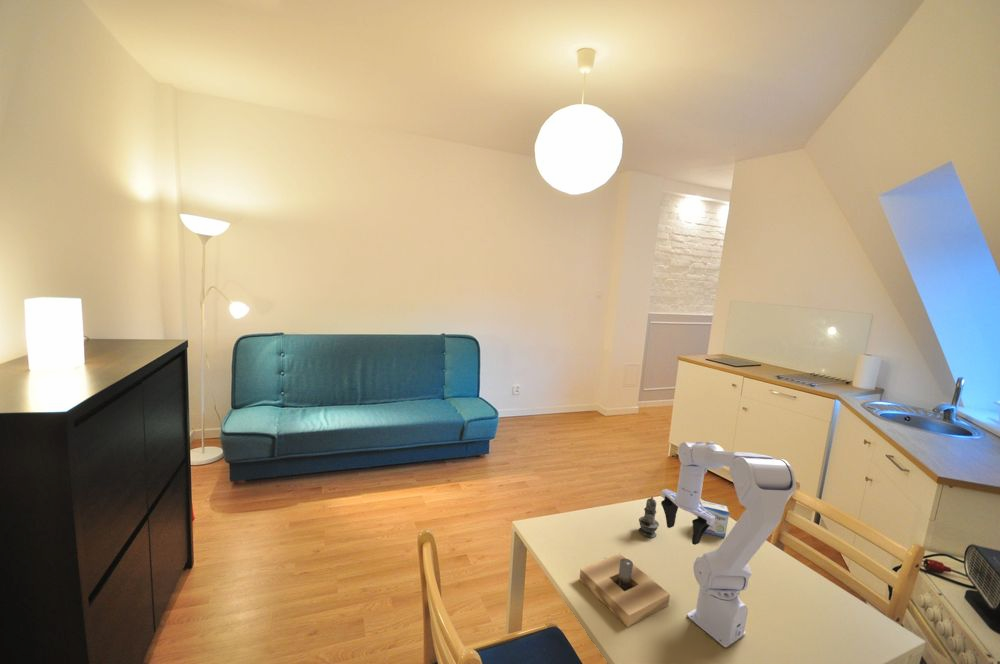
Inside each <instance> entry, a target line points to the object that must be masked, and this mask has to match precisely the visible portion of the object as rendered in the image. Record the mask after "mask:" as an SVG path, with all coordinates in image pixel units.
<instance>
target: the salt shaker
mask: <svg viewBox="0 0 1000 664" xmlns="http://www.w3.org/2000/svg"><path fill="white" fill-rule="evenodd" d="M656 509H657V501H656V500H655V499H654V496H651V498H650V497H649V498H648V499H647V500H646V505H645V507H644V508H643V510H644V515H643V516H640V517H639V518H638V522H639V526H640V527H639V528H638V529H637V530H638V533H639V535H641V536H642V537H644V538H646V539H655V538H656V537H657V533H656V531H657V530H658V528H659V526H660V523H659V522H658V521H657V520H656V518H655V517H656V514H657V513H658V511H657V510H656Z"/></svg>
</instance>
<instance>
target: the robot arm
mask: <svg viewBox="0 0 1000 664" xmlns="http://www.w3.org/2000/svg"><path fill="white" fill-rule="evenodd" d="M715 443H716V442H715V441H706V442H705V443H704V442H703V441H696V442H687V441H683V442H681V443H680V444H679V446H678V450H677V455H678V459H679V461H680V467H679V476H678V483H677V487H676V488H677V490H676V492H674V491H672V490H670V489H667V488H665V489H663V490H661V495H660V497H661V498H663V500H661V502H660V504H661V506H662V509H663V511H664V515H665V521H666V527H667V528H668V529H671V528H673V527H675V523H676V517H677V513H678V509H681V510H683V511H685V512H688V513H691V514H693V515H694V516H696V518H695V519H692V521H691V522H692V530H693V531H692V538H691V543H692V544H693V545H694V546H696V545H698V544H699V543H700V542H701V539H702V537H703V536H704V534H705V533H704V532H705V531H706V529H707V528H708V527H709V526H710V525H712V524H714V523H715V516H714V515H712V514H711V513H709V512H708V511H707V510H706V509H705V508H704V507H702V506H701V505H700V500H701V496H702V492H703V483H704V478H705V474H707V473H708V469H710V470H721V469H723V468H724V467H729V468H728V469H729V470H728V472H729V474H730V477H731V479H732V480H731V481H732V483H733V485H734V486H733V487H734V488H735V493H736V496H737V498H738V503H739V504H740V505H741V506H743V507H744V508H745V509H744V511H743V512H742V514H741V516H739V518H738V520H737V521H736V523H735V524H734V525H733V527H732V529H731V530H730V531H729V533H727V534H726V535H727V536H725V537H724V540H723V541H722V542H721V544H720V545H719V547H718V548H717V549H714V550H711V551H708V552H705V553H703V555H702V556H698V557H696V558H695V560H694V562H693V575H694V578H695V580H696V582H697V585H699V589H698V596H697V600H696V601H697V602H696V608H694V609H692V610H691V611H689V612H687V614H686V617H687V618H689V619H690V620H691V621H692V622H693V623H695V625H697V626H698V627H700V628H701V630H703V631H704V632H705V633H706V634H708V635H709V636H710V637H711V638H713V639H714V640H715V641H716V642H717V643H719V644H720V645H721V646H722V647H724V648H728V647H729V646H731V645H732V644H734V643H736V641H738V640H739V639H741V638H742V637H744V636H745V635H746V631H745V629H746V628H745V627H746V623H747V616H748V606H747V605H746V603H744V602H743V601H742V600H741V599H740V598H739V597H740V594H741V592H743V591H746V589H747V588H748V585H749V580H750V578H751V577H752V570H751V567H750V565H749V562H750V561H751V559H753V557H754V556H755V555H756V553H757V552H758V551H759V550H760V548H761V547H762V546H763V545H764V543H765V542H766V541H767V540H768V539H769V537H770V535H772V533H773V532H774V531H775V529H776V528H777V527H778V526H779V525H780V523H781V521H782V519H783V515H784V512H785V507H786V505H787V503H788V501H789V500H790V498H791V497H792V496H793V495H794V494H795V492H796V491H797V489H798V488H797V482H796V475H795V471H794V469H793V467H792V466H791V464H790V463H789V462H788V461H787V460H785V459H783V458H774V457H773V456H770V455H765V454H761V453H755V452H748V451H747V452H746V451H745V452H744V451H727V450H725V449H724V448H723V447H722V446H721V445H717V444H715ZM697 517H698V519H697Z"/></svg>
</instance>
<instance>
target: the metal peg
mask: <svg viewBox="0 0 1000 664" xmlns="http://www.w3.org/2000/svg"><path fill="white" fill-rule="evenodd" d="M633 565H634V563H633V561H632V560H630V559H628V558H626V557H625V558H623V559H621V560H620V567H619V575H618V583H617V585H618V586H619V587H620V588H621V589H622V590H623V591H627V590H629V589H630V584H631V576H632V569H633Z"/></svg>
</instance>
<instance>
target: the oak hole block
mask: <svg viewBox="0 0 1000 664" xmlns="http://www.w3.org/2000/svg"><path fill="white" fill-rule="evenodd" d="M623 558H626V557H625V556H624V555H622V554H621V553H617V554H613V555H612V556H609V557H607V558H604V559H602V560H599V561H596V562H594V563H592V564H589V565H587V566H584V567H581V568H580V571H579V579H578V580H579V581H580V582H581V583H582V584H583V585H584V586H585V587H586V588H587V589H588V590H589V591H591V593H592V594H594V596H595V597H596V598H598V600H600V602H601V603H603V605H604V606H605V607H607V608H608V610H609V611H611V613H613V614H614V615H615V616H616V618H617V619H619V620H620V622H621V623H623V624H624V625H625V626H626V627H627V628H629V627H631V626H633V625H635V624H636V623H638V622H640V621H642V620H645V618H648V617H650V616H652V615H654V614H655V613H657V612H659V611H661V610H662V609H664V608H667V607H668V606H669V604H670V596H671V595H670V593H669V592H668V591H667V590H666V589H664V588H663V587H662V586H661V585H659V584H658V582H656V581H654V580H653V579H652V578H651V577H649V576H648V575H647V574H646V573H645V572H644V571H642V570H641V569H640V568H639V567H637V566H636V565H635V564H633V569H632V576H631V584H630V589H629V590H627V591H623V590H622V589H621V588H620V587H619V586H618V585H617V583H618V575H619V567H620V560H621V559H623Z"/></svg>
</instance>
